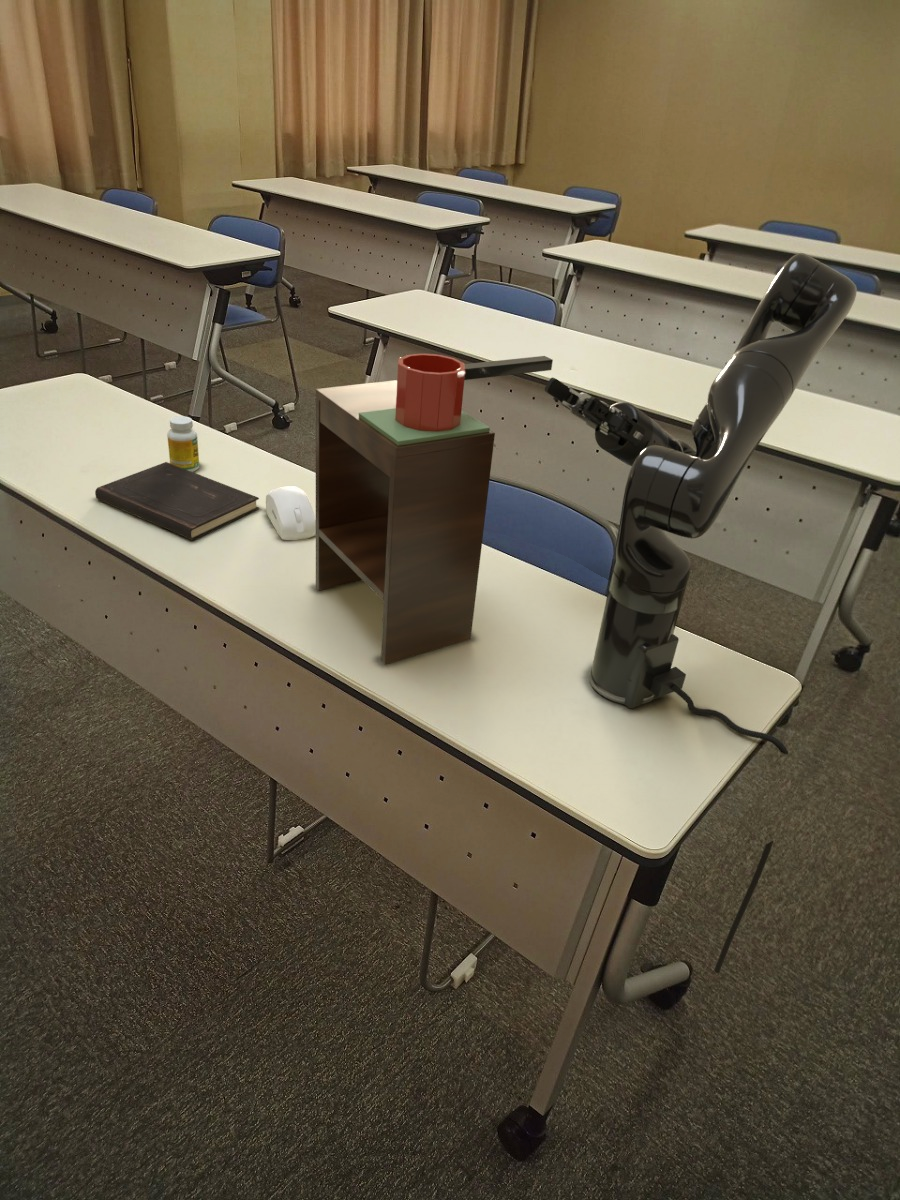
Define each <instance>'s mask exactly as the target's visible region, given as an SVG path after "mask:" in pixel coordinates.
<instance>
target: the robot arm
mask: <svg viewBox="0 0 900 1200" xmlns="http://www.w3.org/2000/svg"><path fill="white" fill-rule="evenodd" d="M857 292H858V289H857V285H856V284H855V282H853V280H852V279H850V278H849V277H848V276H846V275H845V274H843V273H841V272H839V271H838V270H836V269H834V268H832V267H831V266H829V265H827V264H825V263H823V262H821V261H820V260H818V259H816V258H814V257H812V256H811V255H809V254H806V253H803V252H799V253H796V254H793V256H791V257H790V258H789V259H788V260H787V261H786V262H784V264H783V265H782V267H781V268H780V270H779V271H778V272H777V274H776V275H775V276H774V278H773V279H772V281H771V282H770V284H769V286H768V288H767V289H766V291H765V293H764V294H763V296H762V298H761V300H760V302H759V303H758V305H757V307H756V309H755V311H754V313H753V315H752V317H751V319H750V321H749V323H748V325H747V326H746V329H745V330H744V332H743V334H742V337H741V338H740V340H739V342H738V344H737V346H736V349H735V350H734V353H733V354H732V355H731V356H730V358H729V359H728V361H727V362H726V363H725V364H724V366H723V367H722V369H721V370H720V372H719V373H718V374H717V376H715V378H714V380H713V382H712V383H711V385H710V387H709V390H708V393H707V397H706V398H707V401H706V403H705V404H704V406H703V408H702V410H701V411H700V412H699V414H698V416H697V417H696V418H695V420H694V422H693V424H692V426H691V429H690V433H691V437H692V440H693V442H694V445H695V448H694V447H693V446H692V445H691V444H689V443H688V442H687V441H685V440H683V439H680V438H677V437H674V436H673V435H672V434H671V433H669V432H667V431H666V430H665V429H663V428H662V426H661V425H660V424H659V423H658V422H656V421H655V420H654V419H652V418H651V417H650V416H649V415H647V414H646V413H645V412H643V411H642V410H640V409H639V408H637V407H636V406H635V405H634V404H632V403H630V402H626V401H625V402H623V401H620V402H616V403H613V404H612V405H610V404H608V403H607V402H605V401H604V400H599V399H598V398H597V397H594V396H592V395H590V394H589V393H587V392H578V391H576V390H575V389H573V387H571V386H570V385H569V386H568V385H566V384H564V383H563V382H562V381H560V380H559V379H557V378H556V377H550V379H549V380H548V381H547V383H546V386H545V387H544V392H545V393H547V394H548V395H550V396H551V397H553V398H552V400H553V401H554V402H555V403H558V404H559V405H561V406H563V407H564V408H566V409H567V410H569V411H570V413H571V415H573V416H575V417H576V418H577V419H579V420H582V421H583V422H585V424H586V426H588V427H590V428H591V429H593V430H594V439H595V442H596V444H597V445H598V447H599V448H601V449H602V450H604V451H605V452H606V453H608V454H610V455H611V456H613V457H614V458H616V459H618V460H619V461H621V462H622V463H624V464H626V465H627V466H630V467H631V468H630V469H629V473H628V476H627V478H626V479H627V480H626V483H625V487H624V493H623V498H622V503H621V504H622V506H621V511H620V519H619V525H618V531H617V535H616V536H617V537H616V542H615V550H614V551H615V552H614V554H615V555H614V556H615V557H614V562H613V567H612V572H611V576H610V580H609V586H608V590H607V594H606V600H605V604H604V609H603V614H602V618H601V621H600V622H601V623H600V628H599V632H598V636H597V641H596V646H595V650H594V656H593V661H592V666H591V667H590V671H589V682H590V685H591V686H592V688H593V689H594V690H595V691H596V693H598V694H599V695H601V696H602V697H604V698H605V699H608V700H609V701H612V702H614V703H619V704H623V705H624V706H626V707H627V708H629V709H633V708H637V707H639V706H642V705H644V704H647V703H649V702H652V701H655V700H656V699H659V698H662V697H664V696H667V695H669V694H672V693H675V694H676V695H678V697H680V698H681V699H682V700H683V701H684V702H685V703H686V705H687V709H688V710H689V712H690V713H693V714H696V715H699V716H700V715H702V716H711V717H715V718H717V719H718V720H721V721H722V722H723V724H725V725H726V726H727V727H729V729H731V730H732V731H734V732H736V733H738V734H740V735H743V736H746V737H749V738H755V739H761V740H764V741H767V742H770V743H771V744H773V745H774V746H775V747H776V748H777V749H778V750H779V752H780V753H782V754H784V755H789V751H788V748H786V746H785V745H784V743H782V741H781V740H779V738H777V737H775V736H774V735H772V734H769V733H765V732H760V731H755V730H750V729H747V728H744V727H742V726H739V725H737V724H736V723H735V722H734V721H732V720H731V719H730V718H729V717H728V716H727V715H726V714H724V713H722V712H721V711H718V710H715V709H710V708H700V707H696V706H695V704H694V701H693V699H692V697H690V695H688V694H687V692H685V691H684V690H683V686H684V684H685V681H686V676H687V673H685V672H684V671H682V670H681V669H680V668H678V667H677V666H674V667H672V666H673V662H674V657H675V655H676V653H677V652H676V651H677V649H678V645H679V641H680V640H679V637H678V636H677V635H676V634H674V633H675V630H676V625H677V622H678V618H679V615H680V612H681V611H680V610H681V607H682V603H683V601H684V600H683V599H684V596H685V593H686V588H687V585H688V582H689V578H690V574H691V570H692V563H691V560H690V557H689V556H688V554H687V553H686V552H685V551H684V550H683V549H682V548H681V547H680V546H679V545H677V544H676V543H675V542H674V541H673V540H672V539H671V538H670V537H669V536H668V535H667V534H666V533H665V532H667V533H670V534H673V535H676V536H679V537H682V538H686V539H698V538H700V537H702V536H704V535H705V534H706V533H707V532H708V530H709V529H710V528H711V527H712V526H713V524H715V521H716V520H717V519H718V517H719V515H720V513H721V511H722V510H723V508H724V507H725V505H726V502H727V501H728V499H729V496H730V495H731V493H732V491H733V489H735V486H736V484H737V483H738V480H739V478H740V477H741V475H742V473H743V470H744V469H745V467H746V465H747V463H748V462H749V460H750V458H751V457H752V455H753V453H754V452H755V450H756V448H757V447H758V445H760V442H761V441H762V440H763V438H764V437H765V435H767V433H768V432H769V430H770V428H771V427H772V425H774V423H775V422H776V420H777V419H778V417H779V416H780V414H781V413H782V411H783V410H784V408H785V407H786V405H787V404H788V402H789V401H790V399H791V397H792V395H793V394H794V392H795V391H796V389H797V388H798V385H799V383H800V382H801V380H802V378H803V377H804V375H805V374H806V372H807V370H808V368H809V367H810V365H811V364H812V363H813V361H814V360H815V358H816V357H817V355H818V354H819V353H820V352H821V350H822V349H823V348H824V346H826V344H827V343H828V342H829V340H830V339H831V338H832V336H833V335H834V333H835V332H836V331H837V330H838V328H839V327H840V326H841V325H842V323H843V322H844V320H845V319H846V318H847V316H848V314H849V313H850V311H851V309H852V307H853V305H854V303H855V301H856V298H857ZM774 323H777V324H779V325H780V326H782V327H784V328H786V329H788V330H789V331H791V332H790V333H786V334H781V335H777V336H771V337H768V334H769V332H770V330H771V328H772V326H773V324H774ZM773 844H774V839H772V840H771V841H769V842H767V843H766V844H765V845H764V848H763V850H762V854H761V855H760V859H759V861H758V863H757V866H756V868H755V871H754V873H753V874H754V875H753V876H752V879H751V880H750V883H749V885H748V888H747V890H746V893H745V895H744V897H743V899H742V902H741V903H740V906H739V908H738V911H737V913H736V915H735V918H734V920H733V922H732V924H731V926H730V929H729V931H728V934H727V936H726V938H725V941H724V944H723V946H722V948H721V951H720V954H719V956H718V959H717V961H716V964H715V966H714V973H716V974H719V973H720V972H721V969H722V968H723V967H722V966H723V964H724V961H725V959H726V956H727V954H728V952H729V949H730V946H731V944H732V942H733V939H734V937H735V935H736V933H737V930H738V928H739V925H740V923H741V922H742V921H741V920H742V919H743V917H744V914H745V912H746V910H747V908H748V906H749V903H750V901H751V898H752V896H753V894H754V892H755V889H756V887H757V885H758V883H759V881H760V877H761V875H762V873H763V870H764V868H765V865H766V863H767V861H768V858H769V855H770V852H771V850H772V847H773Z"/></svg>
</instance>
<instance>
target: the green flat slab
mask: <svg viewBox="0 0 900 1200" xmlns="http://www.w3.org/2000/svg"><path fill="white" fill-rule="evenodd" d="M395 413H396V408H393V409H385V410H377V411H370V412H362V413H359V418H360V419H362V420H363V421H365V422H366V423H367V424H369V425H370V426H371V427H373V428H374V429H376V430H377V431H378V432H380V433H381V434H382V435H384V436H385V437H387V438H388V439H389V440H391V441H392V442H393V443H395V444H396V445H398V446H401V445H407V444H414V443H420V442H427V441H433V440H440V439H446V438H453V437H459V436H466V435H472V434H479V433H485V432H489V431H490V430H491V428H490V427H489V426H488V425H487V424H485V423H483V422H482V421H480V420H478V419H477V418H475V417H473V416H472V415H470V414H469V413H467V412H465V411H463V410H462V411H461V421H460V425H459V426H457V427H455V428H454V429H452V430H445V431H438V432H435V431H420V430H416V429H412V428H408V427H405V426H403V425H401V424H400V423H399V422H397V421H396V420H395Z"/></svg>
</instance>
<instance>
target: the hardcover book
mask: <svg viewBox="0 0 900 1200" xmlns="http://www.w3.org/2000/svg"><path fill="white" fill-rule="evenodd" d="M94 493H95V495H94V496H95V498H96V499H97V500H98V501H101V502H103V503H105V504H108V505H110V506H112V507H114V508H117V509H119V510H121V511H123V512H126V513H129V514H131V515H134V516H135V517H138V518H141V519H143V520H144V521H147V522H149V523H152V524H154V525H156V526H159V527H161V528H163V529H166V530H168V531H169V532H170V531H171V532H173V533H175V534H176V535H180V536H182V537H184V538H186V539H189V540H191V541H196V540H198V539H199V538H201V537H205V536H206V535H208V534H210V533H212V532H214V531H217V530H218V529H220V528H223V527H225V526H227V525H229V524H231V523H233V522H235V521H238V520H240V519H241V518H244V517H246V516H248V515H249V514H252V513H254V512H256V511H258V510H260V507H259V506H257V501H258V500H260V498H259V497H258V496H256V495H254V494H250V493H248V492H245V491H242V490H240V489H237V488H235V487H232V486H229V485H227V484H224V483H221V482H220V481H217V480H214V479H212V478H209V477H207V476H204V475H201V474H199V473H196V472H195V471H193V472H191V471H188V470H186V469H183V468H181V467H178V466H175V465H173V464H170V462H168V461H165V462H163V463H160V464H157V465H154V466H151V467H149V468H146V469H144V470H140V471H138V472H135V473H132V474H130V475H127V476H125V477H122V478H119V479H117V480H116V479H115V480H114V481H110V482H109V483H106V484H103V485H100V486H98V487H96V489H95V490H94Z"/></svg>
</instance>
